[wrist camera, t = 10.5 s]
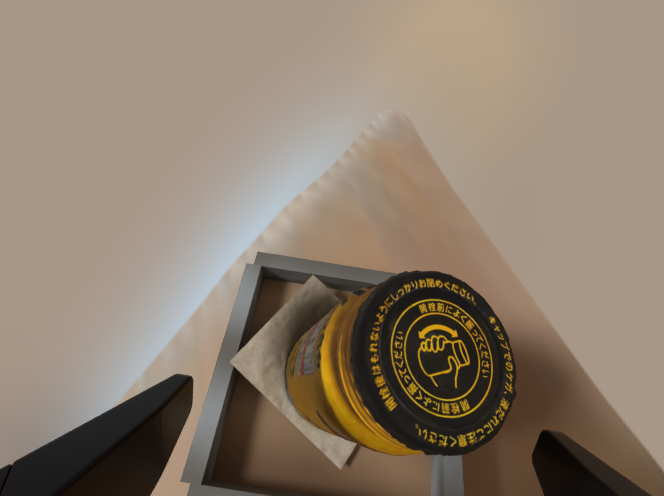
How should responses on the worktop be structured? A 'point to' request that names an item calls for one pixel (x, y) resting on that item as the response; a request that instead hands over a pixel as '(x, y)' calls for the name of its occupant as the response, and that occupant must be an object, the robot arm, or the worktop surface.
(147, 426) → the robot arm
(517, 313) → the worktop surface
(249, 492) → the grey square frame
